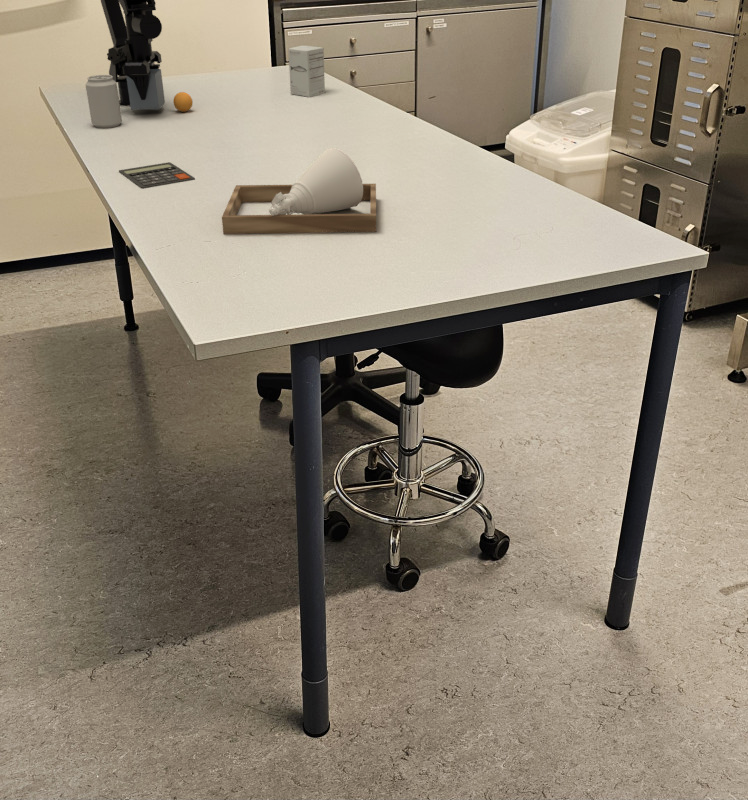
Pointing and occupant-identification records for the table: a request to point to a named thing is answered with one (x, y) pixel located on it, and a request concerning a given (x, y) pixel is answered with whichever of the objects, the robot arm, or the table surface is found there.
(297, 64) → the supplement box
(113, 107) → the can
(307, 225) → the wooden tray
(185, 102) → the ball
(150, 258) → the table surface
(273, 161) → the table surface
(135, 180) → the calculator
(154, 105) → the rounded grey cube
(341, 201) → the rocket engine
